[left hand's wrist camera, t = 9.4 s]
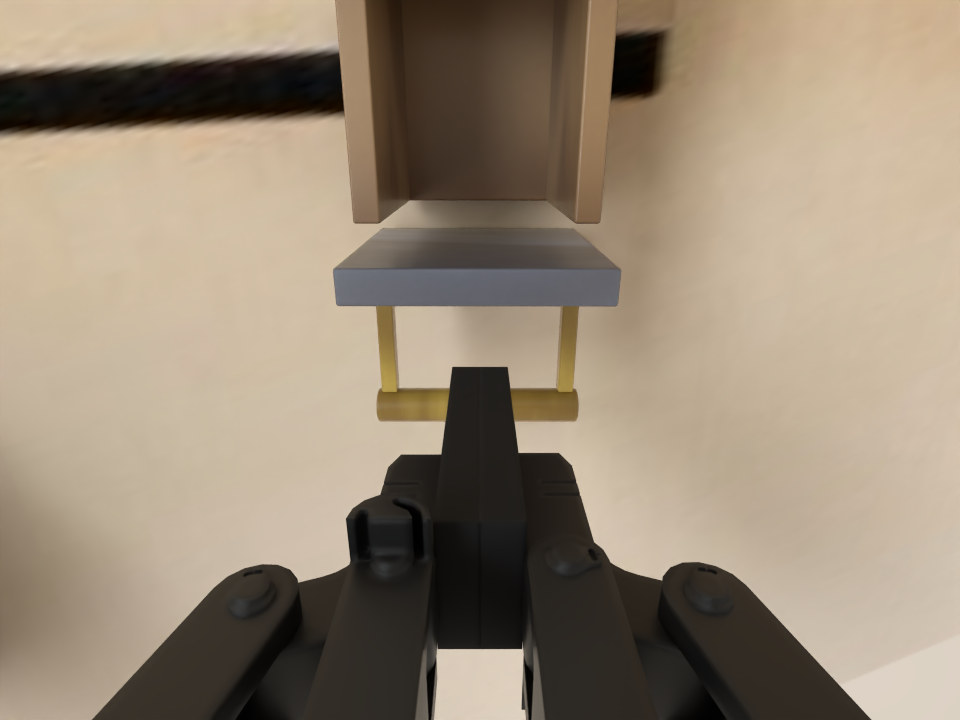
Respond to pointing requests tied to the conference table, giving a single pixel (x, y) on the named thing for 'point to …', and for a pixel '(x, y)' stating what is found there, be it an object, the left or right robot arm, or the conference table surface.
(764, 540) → the conference table surface
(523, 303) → the drawer
